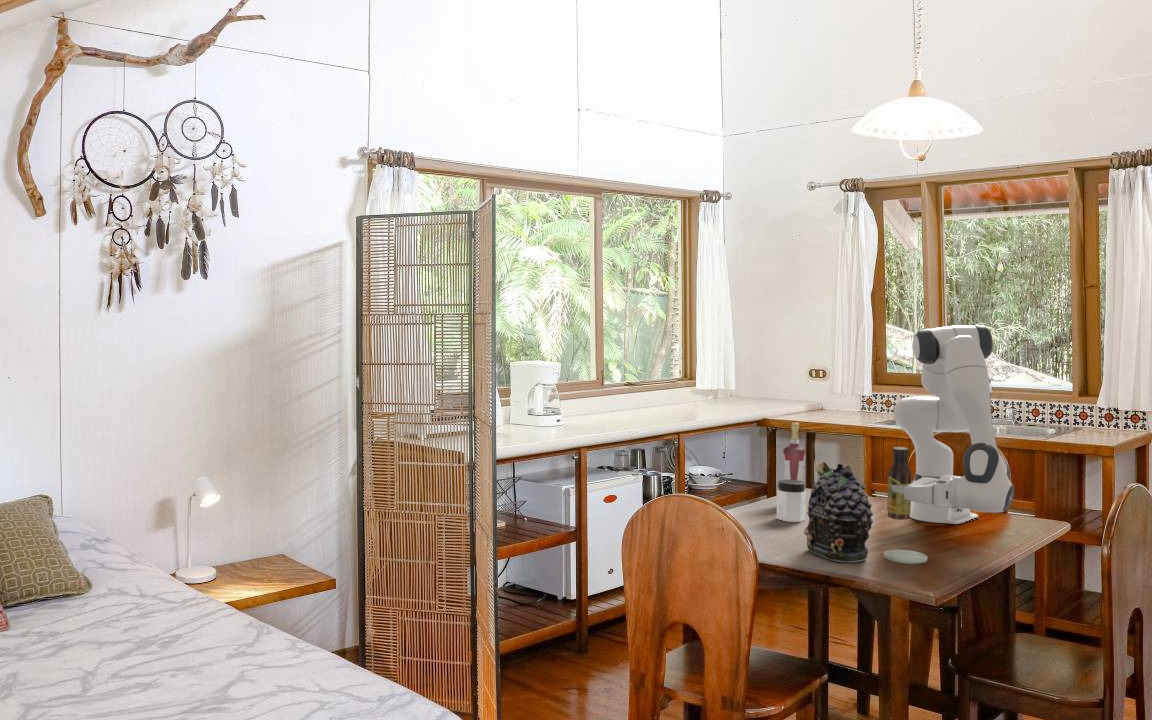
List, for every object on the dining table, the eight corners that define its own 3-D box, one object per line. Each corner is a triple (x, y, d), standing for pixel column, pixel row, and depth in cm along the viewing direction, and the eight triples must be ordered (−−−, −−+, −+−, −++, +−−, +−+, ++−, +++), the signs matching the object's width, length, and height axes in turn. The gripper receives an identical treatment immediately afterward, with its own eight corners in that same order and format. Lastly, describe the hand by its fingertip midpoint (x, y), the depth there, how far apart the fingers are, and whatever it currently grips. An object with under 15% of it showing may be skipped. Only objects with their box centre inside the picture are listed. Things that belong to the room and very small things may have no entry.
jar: (771, 517, 304) (772, 480, 303) (791, 515, 308) (792, 478, 307) (790, 523, 296) (791, 485, 295) (810, 521, 300) (811, 483, 299)
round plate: (903, 551, 263) (903, 547, 263) (936, 560, 254) (936, 557, 254) (875, 556, 258) (875, 552, 258) (908, 566, 248) (908, 562, 248)
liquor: (804, 508, 319) (806, 424, 318) (781, 506, 321) (784, 423, 319) (803, 503, 327) (805, 422, 325) (781, 502, 328) (783, 421, 327)
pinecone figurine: (790, 548, 265) (793, 459, 263) (834, 544, 271) (836, 456, 269) (840, 568, 246) (843, 471, 244) (886, 562, 252) (889, 468, 250)
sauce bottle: (884, 515, 271) (884, 445, 270) (906, 515, 271) (907, 445, 270) (891, 520, 265) (892, 449, 263) (914, 520, 265) (915, 449, 263)
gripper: (957, 474, 268) (906, 469, 276) (938, 485, 251) (885, 479, 259) (956, 497, 269) (906, 491, 276) (938, 508, 252) (885, 502, 260)
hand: (896, 485), depth 268 cm, fingers closed on sauce bottle, 6 cm apart
